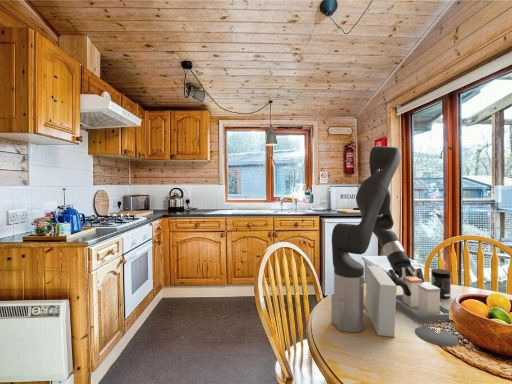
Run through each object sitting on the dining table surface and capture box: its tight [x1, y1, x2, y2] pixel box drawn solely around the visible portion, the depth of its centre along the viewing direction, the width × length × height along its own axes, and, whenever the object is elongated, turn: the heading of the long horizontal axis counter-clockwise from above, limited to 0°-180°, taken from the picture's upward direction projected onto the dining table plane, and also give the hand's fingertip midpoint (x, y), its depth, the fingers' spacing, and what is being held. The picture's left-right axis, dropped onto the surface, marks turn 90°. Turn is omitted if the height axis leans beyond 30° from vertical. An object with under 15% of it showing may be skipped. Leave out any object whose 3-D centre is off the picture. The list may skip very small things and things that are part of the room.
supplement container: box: [430, 268, 452, 300], centre depth 114 cm, size 7×7×10 cm
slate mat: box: [414, 325, 459, 348], centre depth 84 cm, size 11×11×1 cm
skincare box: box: [364, 265, 398, 338], centre depth 95 cm, size 21×6×16 cm, turn 168°
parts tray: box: [396, 293, 451, 324], centre depth 102 cm, size 18×14×2 cm
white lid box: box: [418, 283, 441, 315], centre depth 97 cm, size 5×5×10 cm
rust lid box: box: [402, 276, 423, 307], centre depth 106 cm, size 5×5×10 cm
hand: (415, 295), depth 104 cm, fingers closed on rust lid box, 4 cm apart
